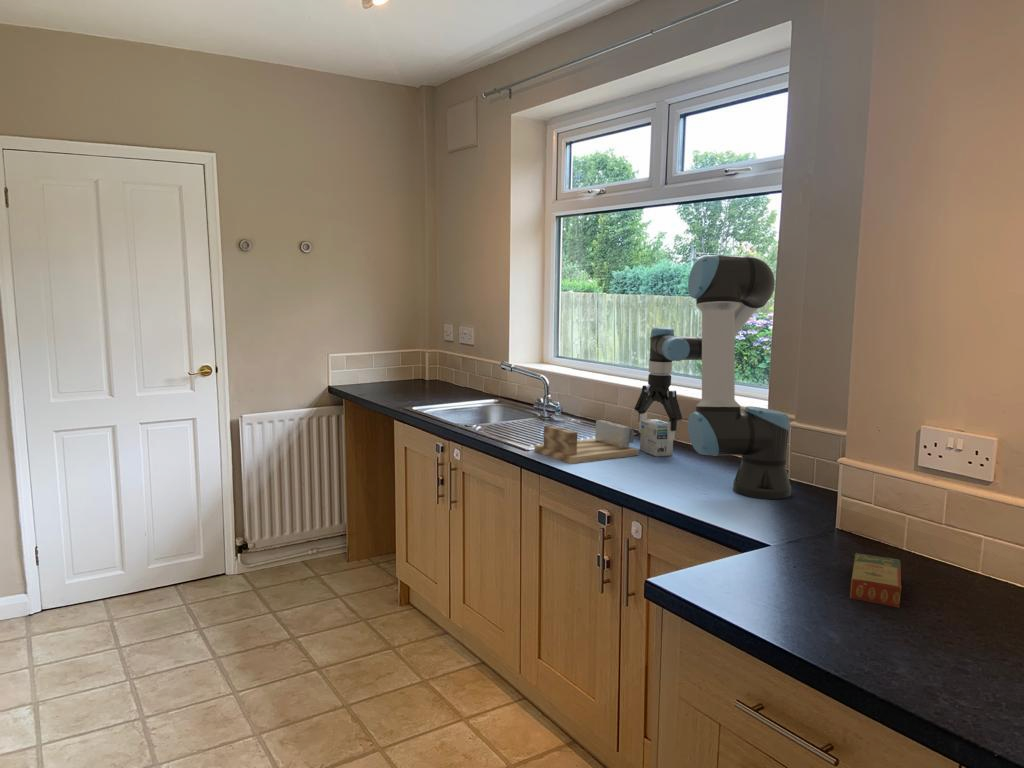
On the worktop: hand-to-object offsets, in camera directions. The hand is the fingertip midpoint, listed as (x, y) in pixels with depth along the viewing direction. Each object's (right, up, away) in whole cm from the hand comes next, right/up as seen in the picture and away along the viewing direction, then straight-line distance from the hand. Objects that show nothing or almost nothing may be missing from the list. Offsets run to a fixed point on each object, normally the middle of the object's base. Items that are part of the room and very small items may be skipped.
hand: (656, 436), depth 251 cm
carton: (+20, -21, -111) cm, 114 cm away
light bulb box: (0, -6, 0) cm, 6 cm away
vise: (-24, -5, -3) cm, 25 cm away
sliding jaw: (-12, -3, +4) cm, 13 cm away
